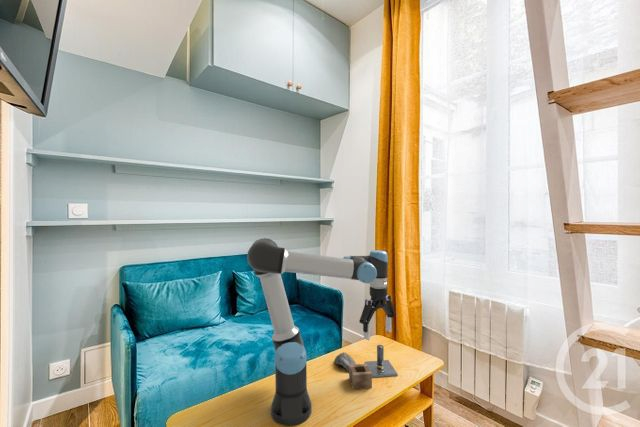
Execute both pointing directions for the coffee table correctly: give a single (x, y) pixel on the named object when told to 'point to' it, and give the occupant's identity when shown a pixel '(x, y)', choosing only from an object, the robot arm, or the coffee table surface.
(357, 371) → the collar
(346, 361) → the fossilized seashell
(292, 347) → the robot arm
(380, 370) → the knob on metal plate
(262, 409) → the coffee table surface
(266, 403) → the coffee table surface
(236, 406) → the coffee table surface
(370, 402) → the coffee table surface
